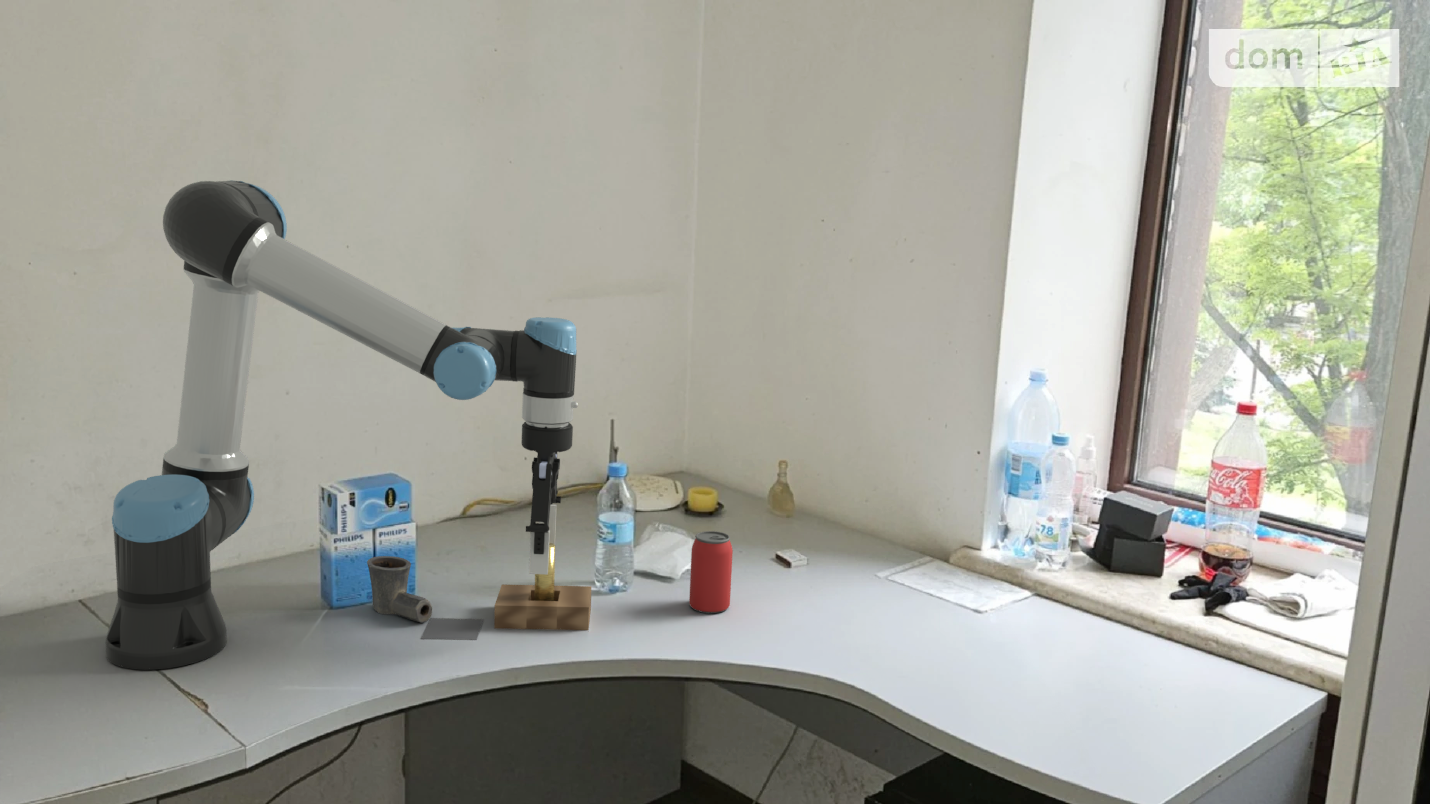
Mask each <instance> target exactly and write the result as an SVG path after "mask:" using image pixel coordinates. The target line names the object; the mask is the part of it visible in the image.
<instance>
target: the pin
mask: <svg viewBox="0 0 1430 804" xmlns="http://www.w3.org/2000/svg"><path fill="white" fill-rule="evenodd" d="M555 573H556V543H555V544H553V543H549V559H548V575H547V574H534V585H535V596H534V601H554V586H555V575H556V574H555Z"/></svg>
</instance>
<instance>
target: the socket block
mask: <svg viewBox="0 0 1430 804" xmlns="http://www.w3.org/2000/svg"><path fill="white" fill-rule="evenodd" d="M499 588H500V589H499V591H498V594H497V596H496V597H497V598H496V600H495V603H494V614H493V615H494V617H493V619H494V620H493V621H494V625H493V626H494V627H493V628H494V629H506V630H507V629H508V630H510V629H511V630H512V629H513V630H552V631H554V630H555V631H556V630H558V631H559V630H561V631H565V630H566V631H589V628H590V621H591V610H592V586H591V585H590V586H589V585H588V586H587V585H582V586H581V585H579V586H578V585H554V601H534V596H535V584H501V586H500V587H499Z"/></svg>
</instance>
